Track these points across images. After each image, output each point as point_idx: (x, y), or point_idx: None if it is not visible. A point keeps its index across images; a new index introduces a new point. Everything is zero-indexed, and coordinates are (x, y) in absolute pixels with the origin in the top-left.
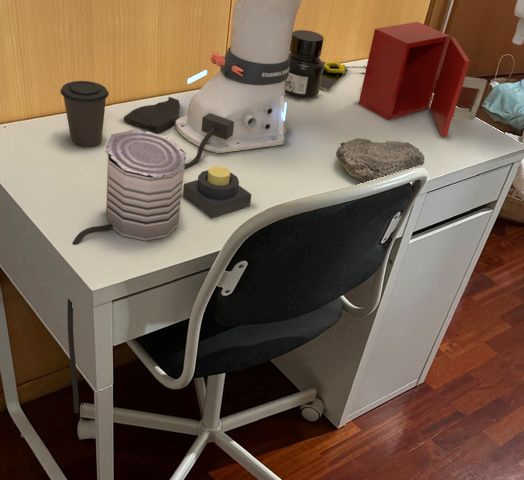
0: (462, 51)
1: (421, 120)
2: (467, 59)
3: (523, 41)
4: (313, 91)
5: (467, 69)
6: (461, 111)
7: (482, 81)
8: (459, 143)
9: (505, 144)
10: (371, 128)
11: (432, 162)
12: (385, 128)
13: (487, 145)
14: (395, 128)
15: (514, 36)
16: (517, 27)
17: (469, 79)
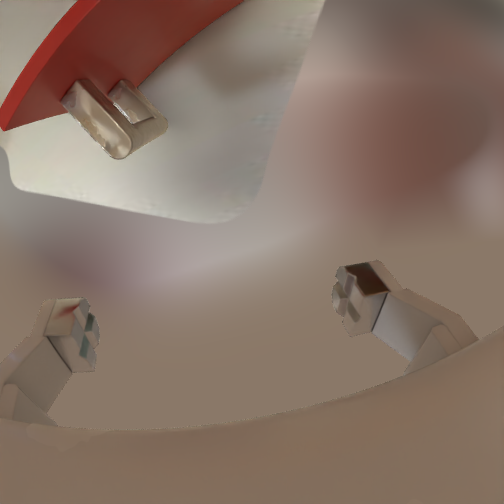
0: (69, 25)
1: None
2: (9, 110)
3: (92, 347)
4: None
5: (22, 124)
6: (122, 110)
7: (104, 150)
8: None
9: (218, 199)
10: (40, 12)
11: (25, 158)
12: (59, 19)
13: (175, 176)
14: None
15: (36, 320)
16: (5, 362)
17: (74, 116)
